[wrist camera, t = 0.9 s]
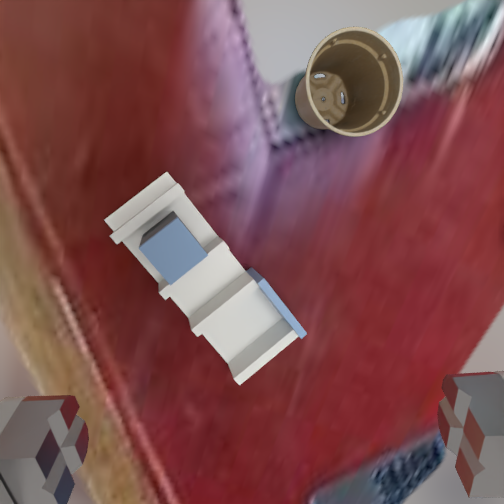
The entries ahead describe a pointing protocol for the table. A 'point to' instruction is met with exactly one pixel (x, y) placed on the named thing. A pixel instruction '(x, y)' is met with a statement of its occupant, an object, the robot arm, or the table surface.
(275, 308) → the slotted rack with block
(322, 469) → the table surface
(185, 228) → the plug
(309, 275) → the table surface
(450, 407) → the robot arm
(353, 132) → the flower pot
